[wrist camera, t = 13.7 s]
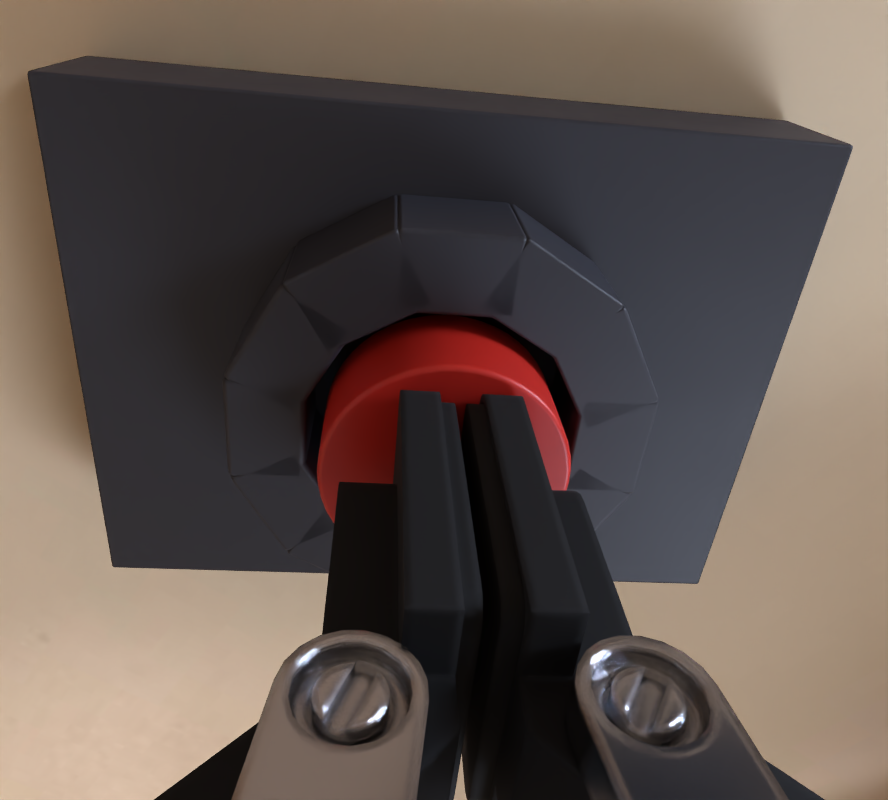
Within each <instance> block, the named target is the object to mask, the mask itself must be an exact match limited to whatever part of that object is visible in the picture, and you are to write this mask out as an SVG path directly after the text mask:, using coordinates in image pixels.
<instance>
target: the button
mask: <svg viewBox="0 0 888 800" xmlns="http://www.w3.org/2000/svg"><path fill="white" fill-rule="evenodd" d="M400 390H415V391H435V392H440V395H441V402H446V403H455V405H456V412H457V419H458V426H459V432H460V439H461V436H462V428H463V420H464V413H465V407H466V404H479V403H480V399H481V396H482V394H493V395H512V396H523V398H524V401H525V404H526V407H527V410H528V414H529V417H530V420H531V423H532V427H533V430H534V433H535V436H536V440H537V443H538V446H539V449H540V453H541V456H542V459H543V462H544V466H545V469H546V472H547V475H548V479H549V482H550V485H551V488H552V490H563V491H566V490H567V487H568V483H569V478H570V471H571V454H570V449H569V443H568V439H567V437H566V434H565V431H564V428H563V426H562V423H561V420H560V418H559V415H558V412H557V409H556V407H555V404H554V401H553V399H552V396H551V393H550V391H549V388H548V385H547V383H546V380H545V377H544V375H543V373H542V371H541V369H540V367H539V365H538V363H537V362H536V361H535V359H534V358H533V357H532V355H531V354H530V353H529V351H528V350H527V349H526V348H525V347H524V346H522V345H521V344H520V343H519V342H518V341H517V340H516V339H514V338H513V337H512V336H510V335H509V334H507V333H506V332H504V331H502V330H500V329H498V328H497V327H495V326H492V325H490V324H487V323H485V322H482V321H479V320H475V319H471V318H467V317H461V316H453V315H430V316H422V317H416V318H412V319H408V320H404V321H401V322H398V323H396V324H393V325H391V326H388V327H386V328H384V329H382V330H380V331H379V332H377V333H375V334H373V335H372V336H371V337H369V338H368V339H366V340H365V341H363V342H362V343H361V344H360V345H359V346H358V347H357V348H356V349H355V350H354V351H352V352H351V354H350V355H349V356H348V357H347V359H346V360H345V361H344V362H343V364H342V365H341V367H340V368H339V370H338V372H337V373H336V375H335V377H334V380H333V382H332V385H331V387H330V391H329V395H328V399H327V404H326V410H325V417H324V423H323V429H322V435H321V442H320V448H319V454H318V463H317V481H318V488H319V492H320V496H321V500H322V502H323V504H324V507H325V509H326V511H327V513H328V515H329V516H330V518H331V520H332V521H333V523H334V521H335V511H336V502H337V493H338V485H339V482H360V483H385V484H393V476H394V463H395V449H396V435H397V421H398V407H399V395H400Z"/></svg>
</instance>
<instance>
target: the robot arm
mask: <svg viewBox="0 0 888 800" xmlns="http://www.w3.org/2000/svg"><path fill="white" fill-rule="evenodd" d="M461 753H462V761H463V772H464V784H465V793H466V797H467V800H824V799H823V798H821V797H820V796H818V795H817V794H815V793H814V792H812V791H811V790H809V789H808V788H806V787H805V786H803V785H802V784H800V783H799V782H797V781H796V780H794V779H793V778H791V777H790V776H788V775H787V774H785V773H784V772H782V771H781V770H779V769H778V768H776V767H775V766H773V765H772V764H770V763H769V762H767V761H766V760H764V759H763V757H762V756H761V754H760V752H759V751H758V749H757V748H756V746H755V744H754V743H753V741H752V740H751V738H750V736H749V735H748V733H747V732H746V730H745V729H744V727H743V725H742V724H741V722H740V721H739V719H738V717H737V716H736V714H735V713H734V711H733V709H732V708H731V706H730V705H729V703H728V701H727V700H726V698H725V697H724V695H723V693H722V692H721V690H720V689H719V687H718V685H717V684H716V683H715V682H714V680H713V679H712V678H711V677H710V676H709V674H708V673H707V672H706V671H705V669H704V668H703V667H702V666H701V665H699V664H698V663H697V662H695V661H694V660H693V659H692V658H690V657H689V656H688V655H687V654H685V653H684V652H682V651H680V650H678V649H676V648H674V647H672V646H670V645H668V644H666V643H664V642H662V641H658V640H654V639H650V638H646V637H643V636H633V635H632V632H631V630H630V627H629V624H628V621H627V618H626V616H625V613H624V610H623V607H622V605H621V602H620V599H619V596H618V594H617V591H616V588H615V585H614V583H613V580H612V577H611V574H610V571H609V569H608V566H607V563H606V560H605V558H604V555H603V552H602V549H601V547H600V544H599V541H598V538H597V536H596V533H595V530H594V527H593V525H592V522H591V519H590V516H589V513H588V511H587V508H586V505H585V502H584V500H583V498H582V496H581V494H580V493H578V492H577V491H563V490H552V488H551V485H550V482H549V479H548V475H547V472H546V469H545V466H544V462H543V459H542V456H541V453H540V449H539V446H538V443H537V440H536V436H535V433H534V430H533V427H532V423H531V420H530V417H529V414H528V410H527V407H526V404H525V401H524V398H523V396H512V395H493V394H482V396H481V399H480V403H479V404H466V407H465V413H464V420H463V428H462V436H461V439H460V432H459V426H458V419H457V412H456V405H455V403H446V402H441V395H440V392H435V391H415V390H400V395H399V407H398V421H397V435H396V449H395V463H394V476H393V484H385V483H360V482H339V485H338V493H337V502H336V511H335V521H334V530H333V539H332V548H331V558H330V567H329V576H328V586H327V595H326V604H325V613H324V623H323V632H322V635H320V636H318V637H316V638H314V639H312V640H310V641H308V642H306V643H305V644H303V645H301V646H300V647H298V648H297V649H296V650H295V651H294V652H293V653H292V654H291V655H290V656H289V657H288V658H287V659H286V660H285V661H284V662H283V664H282V666H281V668H280V669H279V671H278V673H277V675H276V677H275V678H274V681H273V683H272V686H271V689H270V692H269V695H268V698H267V700H266V703H265V706H264V709H263V712H262V714H261V717H260V720H259V722H258V723H257V724H256V725H254V726H253V727H252V728H250V729H249V730H248V731H246V732H245V733H243V734H242V735H241V736H239V737H238V738H237V739H235V740H234V741H233V742H231V743H230V744H229V745H227V746H226V747H225V748H223V749H222V750H221V751H219V752H218V753H216V754H215V755H214V756H212V757H211V758H210V759H208V760H207V761H206V762H204V763H203V764H202V765H200V766H199V767H198V768H196V769H195V770H193V771H192V772H191V773H189V774H188V775H187V776H185V777H184V778H183V779H181V780H180V781H179V782H177V783H176V784H175V785H173V786H172V787H171V788H169V789H168V790H166V791H165V792H164V793H162V794H161V795H160V796H158V797H157V798H156V799H154V800H453V799H454V795H455V789H456V783H457V777H458V771H459V765H460V759H461Z"/></svg>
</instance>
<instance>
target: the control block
mask: <svg viewBox="0 0 888 800" xmlns="http://www.w3.org/2000/svg"><path fill="white" fill-rule="evenodd" d="M28 80H29V85H30V91H31V97H32V103H33V109H34V114H35V120H36V126H37V132H38V138H39V143H40V149H41V155H42V161H43V167H44V172H45V178H46V184H47V190H48V196H49V201H50V207H51V213H52V219H53V225H54V230H55V236H56V242H57V248H58V253H59V259H60V265H61V271H62V277H63V282H64V288H65V294H66V300H67V306H68V311H69V317H70V323H71V329H72V335H73V340H74V346H75V352H76V358H77V364H78V369H79V375H80V381H81V387H82V393H83V398H84V404H85V410H86V416H87V422H88V427H89V433H90V439H91V445H92V450H93V456H94V462H95V468H96V474H97V479H98V485H99V491H100V497H101V503H102V508H103V514H104V520H105V526H106V532H107V537H108V543H109V549H110V555H111V561H112V566H113V567H126V568H161V569H196V570H231V571H266V572H301V573H329V567H330V558H331V548H332V539H333V530H334V523H333V521H332V520H331V518H330V516H329V515H328V513H327V511H326V509H325V507H324V504H323V502H322V500H321V496H320V492H319V488H318V481H317V463H318V454H319V448H320V442H321V435H322V429H323V423H324V417H325V410H326V404H327V399H328V395H329V391H330V387H331V385H332V382H333V380H334V377H335V375H336V373H337V372H338V370H339V368H340V367H341V365H342V364H343V362H344V361H345V360H346V359H347V357H348V356H349V355H350V354H351V352H352V351H354V350H355V349H356V348H357V347H358V346H359V345H360V344H361V343H362V342H363V341H365V340H366V339H368V338H369V337H371V336H372V335H373V334H375V333H377V332H379V331H380V330H382V329H384V328H386V327H388V326H391V325H393V324H396V323H398V322H401V321H404V320H408V319H412V318H416V317H422V316H430V315H453V316H461V317H467V318H471V319H475V320H479V321H482V322H485V323H487V324H490V325H492V326H495V327H497V328H498V329H500V330H502V331H504V332H506V333H507V334H509V335H510V336H512V337H513V338H514V339H516V340H517V341H518V342H519V343H520V344H521V345H522V346H524V347H525V348H526V349H527V350H528V351H529V353H530V354H531V355H532V357H533V358H534V359H535V361H536V362H537V363H538V365H539V367H540V369H541V371H542V373H543V375H544V377H545V380H546V383H547V385H548V388H549V391H550V393H551V396H552V399H553V401H554V404H555V407H556V409H557V412H558V415H559V418H560V420H561V423H562V426H563V428H564V431H565V434H566V437H567V439H568V443H569V449H570V454H571V471H570V478H569V483H568V487H567V490H566V491H577V492H578V493H580V494H581V496H582V498H583V500H584V502H585V505H586V508H587V511H588V513H589V516H590V519H591V522H592V525H593V527H594V530H595V533H596V536H597V538H598V541H599V544H600V547H601V549H602V552H603V555H604V558H605V560H606V563H607V566H608V569H609V571H610V574H611V577H612V580H613V581H618V582H653V583H688V584H697V583H698V582H699V579H700V577H701V574H702V571H703V568H704V565H705V563H706V560H707V557H708V554H709V551H710V549H711V546H712V543H713V540H714V537H715V534H716V532H717V529H718V526H719V523H720V520H721V518H722V515H723V512H724V509H725V506H726V503H727V501H728V498H729V495H730V492H731V489H732V487H733V484H734V481H735V478H736V475H737V472H738V470H739V467H740V464H741V461H742V458H743V456H744V453H745V450H746V447H747V444H748V442H749V439H750V436H751V433H752V430H753V427H754V425H755V422H756V419H757V416H758V413H759V411H760V408H761V405H762V402H763V399H764V396H765V394H766V391H767V388H768V385H769V382H770V380H771V377H772V374H773V371H774V368H775V365H776V363H777V360H778V357H779V354H780V351H781V349H782V346H783V343H784V340H785V337H786V334H787V332H788V329H789V326H790V323H791V320H792V318H793V315H794V312H795V309H796V306H797V304H798V301H799V298H800V295H801V292H802V289H803V287H804V284H805V281H806V278H807V275H808V273H809V270H810V267H811V264H812V261H813V258H814V256H815V253H816V250H817V247H818V244H819V242H820V239H821V236H822V233H823V230H824V227H825V225H826V222H827V219H828V216H829V213H830V211H831V208H832V205H833V202H834V199H835V197H836V194H837V191H838V188H839V185H840V182H841V180H842V177H843V174H844V171H845V168H846V166H847V163H848V160H849V157H850V154H851V151H852V148H853V146H852V145H850V144H848V143H845V142H842V141H840V140H837V139H834V138H832V137H829V136H826V135H824V134H821V133H818V132H815V131H813V130H810V129H807V128H805V127H802V126H799V125H797V124H794V123H791V122H789V121H784V120H773V119H762V118H751V117H740V116H730V115H719V114H708V113H697V112H687V111H676V110H665V109H654V108H643V107H633V106H622V105H611V104H600V103H590V102H579V101H568V100H557V99H547V98H536V97H525V96H514V95H503V94H493V93H482V92H471V91H460V90H450V89H439V88H428V87H417V86H406V85H396V84H385V83H374V82H363V81H353V80H342V79H331V78H320V77H309V76H299V75H288V74H277V73H266V72H256V71H245V70H234V69H223V68H213V67H202V66H191V65H180V64H169V63H159V62H148V61H137V60H126V59H116V58H105V57H94V56H84V57H80V58H76V59H72V60H69V61H65V62H61V63H57V64H53V65H50V66H46V67H42V68H38V69H34V70H31V71H28Z"/></svg>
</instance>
